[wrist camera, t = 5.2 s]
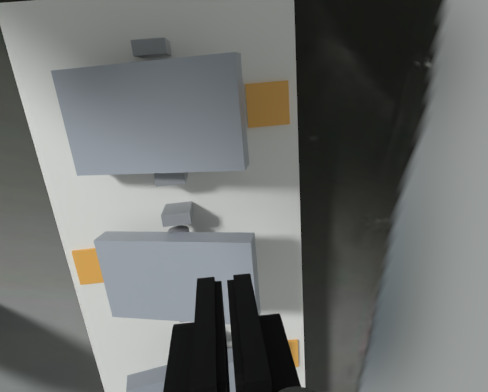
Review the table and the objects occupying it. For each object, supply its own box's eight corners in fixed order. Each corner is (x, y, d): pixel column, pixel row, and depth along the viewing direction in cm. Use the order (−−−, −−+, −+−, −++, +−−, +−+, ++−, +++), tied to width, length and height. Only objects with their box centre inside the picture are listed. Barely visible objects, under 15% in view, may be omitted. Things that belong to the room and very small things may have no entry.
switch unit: (30, 15, 20) (-33, -6, 15) (281, -4, 21) (302, -31, 16) (127, 395, 30) (109, 460, 25) (296, 374, 31) (312, 433, 26)
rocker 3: (128, 364, 22) (126, 391, 20) (259, 330, 24) (269, 351, 22) (142, 422, 24) (141, 452, 22) (264, 385, 26) (273, 410, 24)
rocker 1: (78, 70, 18) (50, 70, 16) (244, 54, 16) (235, 51, 14) (100, 165, 20) (77, 175, 18) (252, 160, 18) (245, 171, 16)
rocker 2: (113, 225, 21) (93, 240, 19) (257, 225, 19) (250, 242, 17) (129, 296, 23) (112, 316, 21) (262, 302, 21) (257, 326, 19)
